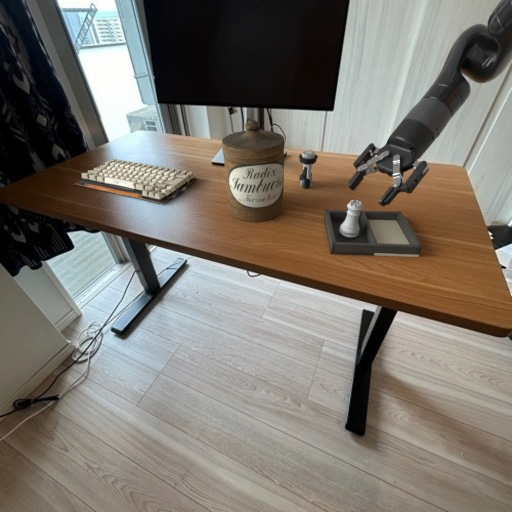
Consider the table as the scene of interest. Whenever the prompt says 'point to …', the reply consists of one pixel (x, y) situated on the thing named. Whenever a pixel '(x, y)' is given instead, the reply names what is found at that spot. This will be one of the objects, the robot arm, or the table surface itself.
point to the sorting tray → (373, 234)
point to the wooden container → (254, 172)
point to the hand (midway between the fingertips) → (364, 196)
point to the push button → (307, 167)
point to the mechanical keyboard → (137, 180)
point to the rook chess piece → (351, 220)
